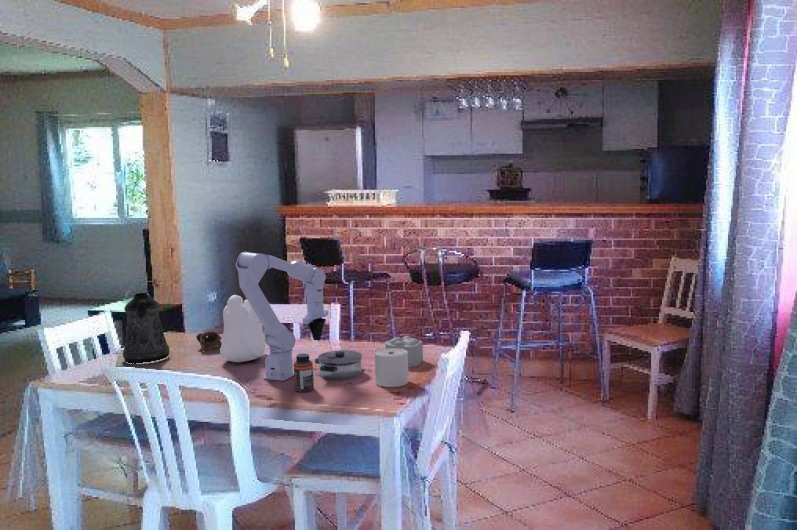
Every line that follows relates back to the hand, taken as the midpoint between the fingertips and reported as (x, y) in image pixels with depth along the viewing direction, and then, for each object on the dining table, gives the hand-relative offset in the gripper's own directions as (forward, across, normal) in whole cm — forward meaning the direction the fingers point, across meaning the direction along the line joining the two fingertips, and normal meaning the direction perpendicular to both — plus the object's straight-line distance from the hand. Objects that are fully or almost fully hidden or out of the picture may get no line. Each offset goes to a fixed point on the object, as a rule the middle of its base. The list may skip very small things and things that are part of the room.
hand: (317, 339), depth 250 cm
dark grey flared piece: (+10, -11, +66) cm, 68 cm away
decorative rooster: (+10, +2, +30) cm, 32 cm away
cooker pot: (+9, -6, -12) cm, 16 cm away
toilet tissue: (+10, -10, -32) cm, 35 cm away
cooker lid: (+4, -6, -12) cm, 14 cm away
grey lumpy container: (+10, +13, -27) cm, 31 cm away
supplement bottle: (+10, -25, -9) cm, 28 cm away
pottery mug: (+10, +8, +53) cm, 55 cm away
